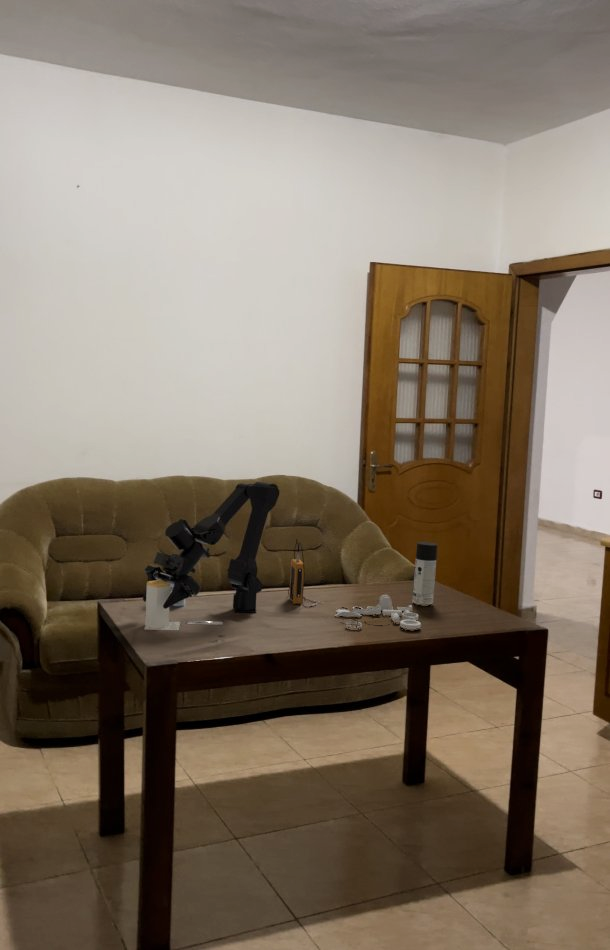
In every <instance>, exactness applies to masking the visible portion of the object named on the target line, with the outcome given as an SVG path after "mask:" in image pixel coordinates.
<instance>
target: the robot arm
mask: <svg viewBox="0 0 610 950" xmlns="http://www.w3.org/2000/svg"><path fill="white" fill-rule="evenodd" d="M279 497H280V489H279V487H278V485H277V484H276V483H272V482H265V481H261V480H260V481H256V482H255V483H243V482H240V483H238V484H236V486H235V488H234V490H233V491H232V492H231V493H230V495H229V496H227V498H226V499H225V500H224V501H222V503H221V504H220V506H219V507H218V508H217V509H215V511H214V512H213V513H212V514H211V515H208V516H206V517H204V518H203V519H201V520H200V521H198V522H197V523H196V524H195V525H194V526H192V527H191V526H190V525H189V523H188V521H187V520H186V519H184V518H180V519H179V520H178V521H175V522H173V523H172V524H171V525H169V526H167V527H166V529H165V533H164V535H165V536H166V538H167V539H168V540H169V541H170V542H171V544H172V545H173V546H174V548H175V549H177V550H181V551H179V553H178V554H176V553H172V554H170V555H168V554H166V553H163V552H156V554H155V557H154V560H153V564H148V565H147V566H146V567H145V569H144V573H145V576H146V577H147V582H149V581H155V580H163V581H166V582H167V581H168V582H171V583H174V589H173V591H172V592H171V594H170V595H169V597H168V598H167V600H166V601H165V603H164V605H163V607H164V608H165V609H166V608H168V607H169V608H171V607H173V606H172V605H174V604H176V603H178V602H180V601H182V600H184V599H185V600H186V599H188V598H192V597H193V596H194V597H197V595H198V594H199V593H200V592H201V585H200V584H199V583H198V582H197V581H196V579H194V577H193V576H191V575H190V574H191V573H192V574H195V572H196V569H195V567H196V565H198V563H199V562H200V560H201V559H202V558H203V557H204V558H208V559H209V558H210V557H211V554H210V548H209V547H205V546H204V545H203V544H205V545H209V546H215V545H217V544H218V543H219V541H220V540H221V539H222V537H223V535H224V534H225V531H226V526H227V524H228V523H230V521H231V520H232V519H233V517H234V516H236V514H237V513H238V512H239V511H240V510H241V509H242V507H243V506H244V505H245V504H246V503H247V502H248V500H249V502H250V506H251V511H250V516H249V518H248V522H247V526H246V529H245V533H244V537H243V539H242V543H241V548H240V551H239V554H238V555H237V557H236V558H235V559H234V558H230V560H229V565H228V568H227V570H226V572H227V580H228V581H229V584H230V585H229V586H230V588H231V589H234V590H235V591H234V593H233V595H232V609H234V613H257V594H258V593H260V592H262V589H263V587H264V584H263V583H262V582H261V580H260V579H259V578H258V576H257V575H258V571H259V570H258V565H257V562H256V557H257V554H258V550H259V547H260V544H261V539H262V535H263V532H264V529H265V524H266V521H267V518H268V514H269V513H270V512H271V510H273V508H274V507H275V506H276V504H277V502H278V498H279ZM154 564H156V565H154ZM158 565H159V566H158ZM160 566H161V567H160ZM146 593H147V586H146V587H145V591H144V594H143V596H142V600H143V602H145V603H146Z"/></svg>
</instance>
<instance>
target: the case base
mask: <svg viewBox="0 0 610 950" xmlns="http://www.w3.org/2000/svg"><path fill="white" fill-rule="evenodd" d="M180 625H181V621H170V620H169V626H165V627H160V628H156V629H155V628H153V627H150V626H147V625H145V626H144V630H148V631H151V630H152V631H153V630H156V631H179V630H180Z"/></svg>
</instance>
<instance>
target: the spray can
mask: <svg viewBox="0 0 610 950" xmlns="http://www.w3.org/2000/svg"><path fill="white" fill-rule="evenodd" d="M437 556H438V543H435V542H431V541H430V542H428V541H418V542H417V543H416V551H415V562H414V564H415V565H414V575H413V587H412V590H413V591H412V602H411V603H413V602H414V603H417V604H432V603H433V604H434V595H435V594H434V593H435V581H436V571H437V570H436V569H437V558H438V557H437ZM433 604H432V605H433Z"/></svg>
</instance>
